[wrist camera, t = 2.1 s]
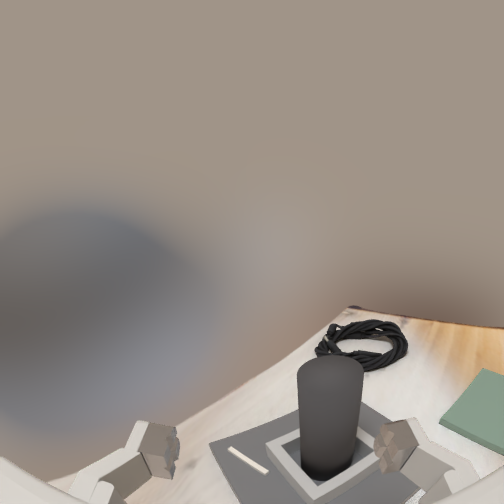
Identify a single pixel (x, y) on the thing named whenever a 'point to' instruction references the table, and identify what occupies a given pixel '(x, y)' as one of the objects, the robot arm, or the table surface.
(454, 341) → the table surface
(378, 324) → the cable
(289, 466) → the base
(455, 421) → the pad
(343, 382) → the dark grey cylinder
